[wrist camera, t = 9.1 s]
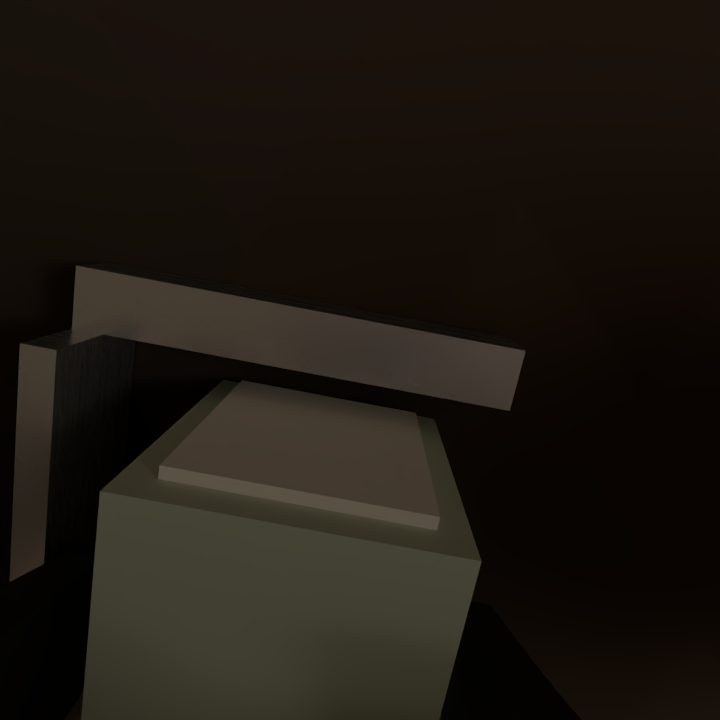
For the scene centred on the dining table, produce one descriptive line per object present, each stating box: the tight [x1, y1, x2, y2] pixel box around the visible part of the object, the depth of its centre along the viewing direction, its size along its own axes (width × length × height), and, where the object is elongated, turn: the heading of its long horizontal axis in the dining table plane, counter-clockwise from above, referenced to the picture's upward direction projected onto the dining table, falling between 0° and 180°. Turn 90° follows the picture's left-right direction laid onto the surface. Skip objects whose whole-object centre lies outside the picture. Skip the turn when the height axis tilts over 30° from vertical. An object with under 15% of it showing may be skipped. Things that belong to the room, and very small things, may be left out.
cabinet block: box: [81, 380, 481, 720], centre depth 10 cm, size 5×8×6 cm, turn 170°
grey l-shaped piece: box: [10, 263, 525, 720], centre depth 11 cm, size 8×11×3 cm
